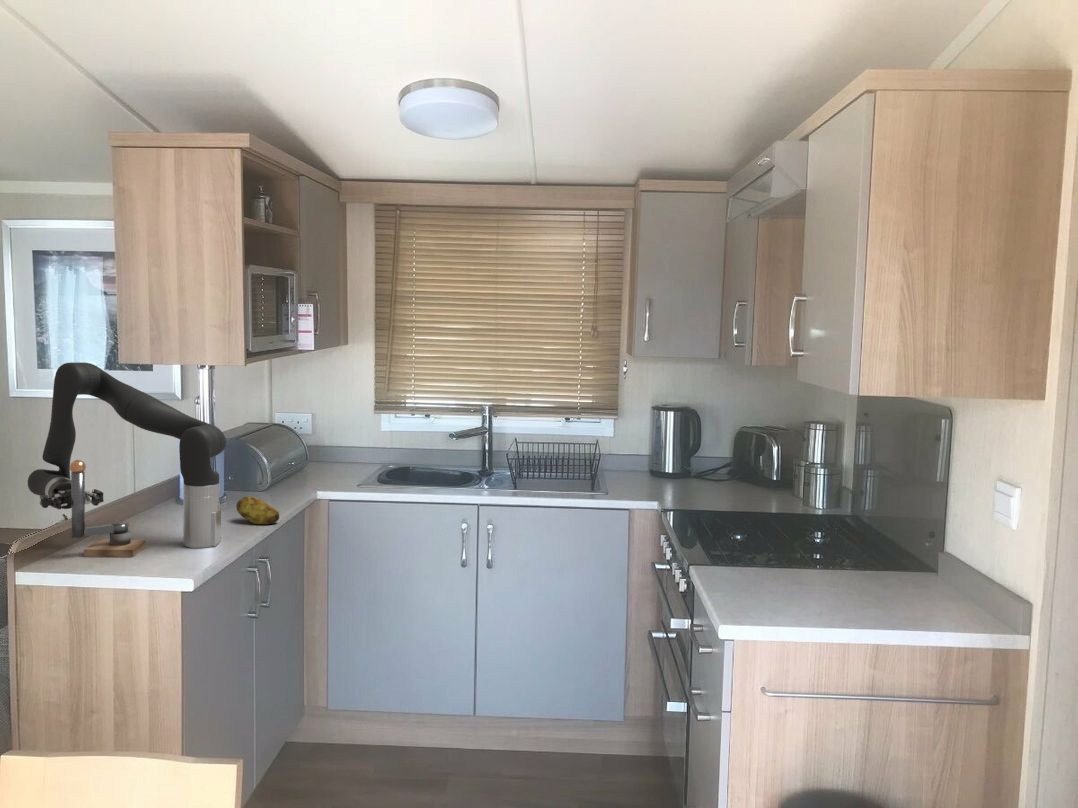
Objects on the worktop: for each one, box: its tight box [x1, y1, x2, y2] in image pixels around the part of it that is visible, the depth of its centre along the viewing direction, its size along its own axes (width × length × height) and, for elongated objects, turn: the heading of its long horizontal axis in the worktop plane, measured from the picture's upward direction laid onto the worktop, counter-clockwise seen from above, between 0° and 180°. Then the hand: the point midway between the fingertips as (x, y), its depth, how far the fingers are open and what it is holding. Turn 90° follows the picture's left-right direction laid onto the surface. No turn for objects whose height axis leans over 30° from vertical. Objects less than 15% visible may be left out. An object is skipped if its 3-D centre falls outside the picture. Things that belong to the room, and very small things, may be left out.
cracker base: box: [83, 530, 147, 558], centre depth 218 cm, size 12×10×5 cm
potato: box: [236, 496, 280, 525], centre depth 255 cm, size 8×13×8 cm, turn 65°
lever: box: [70, 459, 130, 539], centre depth 215 cm, size 14×4×20 cm, turn 132°
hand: (78, 503), depth 212 cm, fingers open, 8 cm apart
